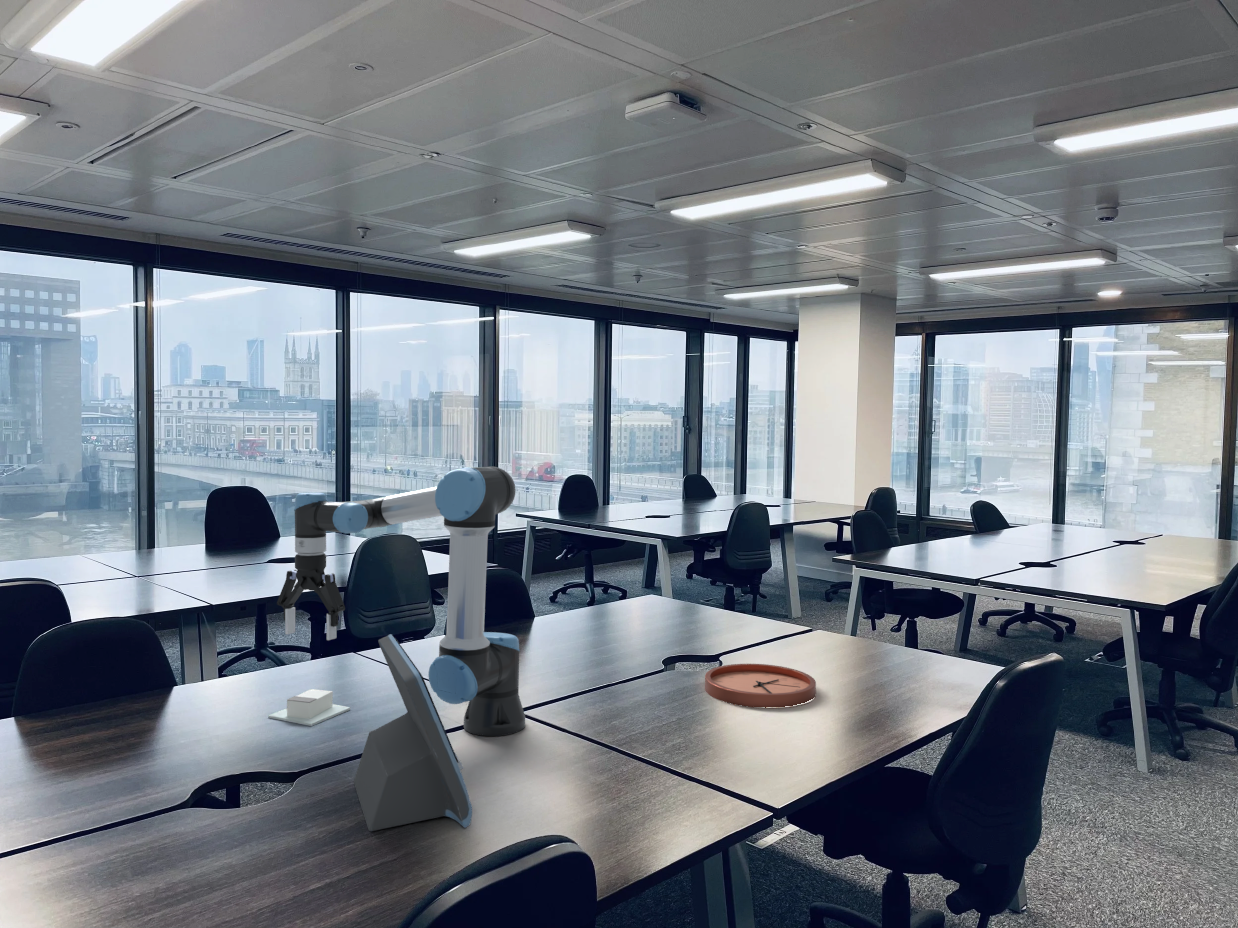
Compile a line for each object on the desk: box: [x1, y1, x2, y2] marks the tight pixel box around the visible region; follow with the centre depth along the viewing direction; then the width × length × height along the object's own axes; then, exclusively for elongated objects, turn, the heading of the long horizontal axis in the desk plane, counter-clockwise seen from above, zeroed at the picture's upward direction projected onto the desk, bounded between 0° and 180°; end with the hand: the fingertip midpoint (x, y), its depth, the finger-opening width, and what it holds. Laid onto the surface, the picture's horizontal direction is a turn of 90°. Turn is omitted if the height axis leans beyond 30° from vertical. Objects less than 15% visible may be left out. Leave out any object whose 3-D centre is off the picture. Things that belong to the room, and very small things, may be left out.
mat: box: [267, 703, 351, 727], centre depth 221 cm, size 14×14×1 cm
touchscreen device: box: [353, 633, 473, 832], centre depth 171 cm, size 35×20×30 cm, turn 24°
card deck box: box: [286, 688, 334, 719], centre depth 221 cm, size 10×6×4 cm, turn 165°
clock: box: [704, 663, 817, 709], centre depth 247 cm, size 31×4×31 cm
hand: (310, 636), depth 220 cm, fingers open, 13 cm apart
